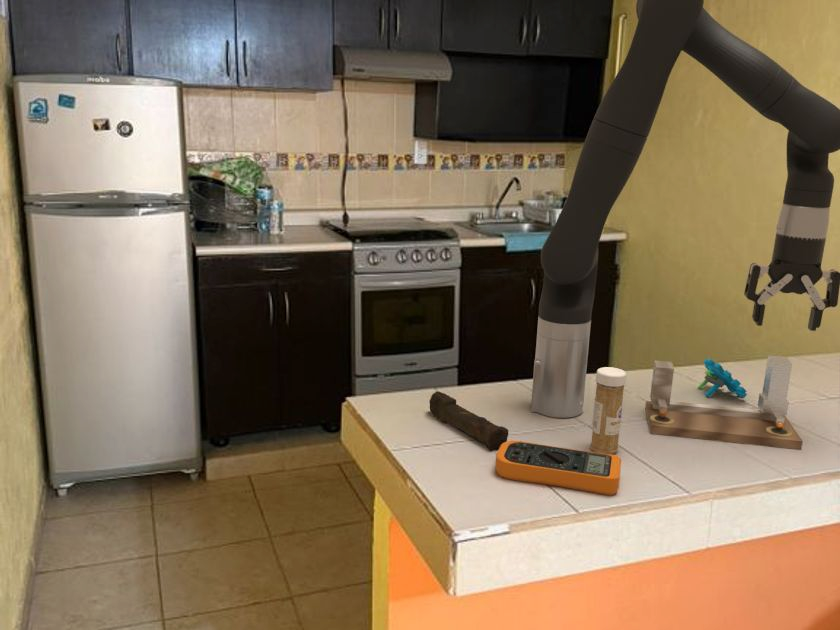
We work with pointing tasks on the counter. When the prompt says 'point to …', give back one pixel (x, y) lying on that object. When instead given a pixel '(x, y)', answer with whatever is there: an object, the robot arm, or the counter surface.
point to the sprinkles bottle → (607, 410)
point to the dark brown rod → (467, 421)
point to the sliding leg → (776, 389)
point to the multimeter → (559, 466)
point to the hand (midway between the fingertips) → (785, 327)
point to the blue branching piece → (720, 379)
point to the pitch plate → (711, 418)
